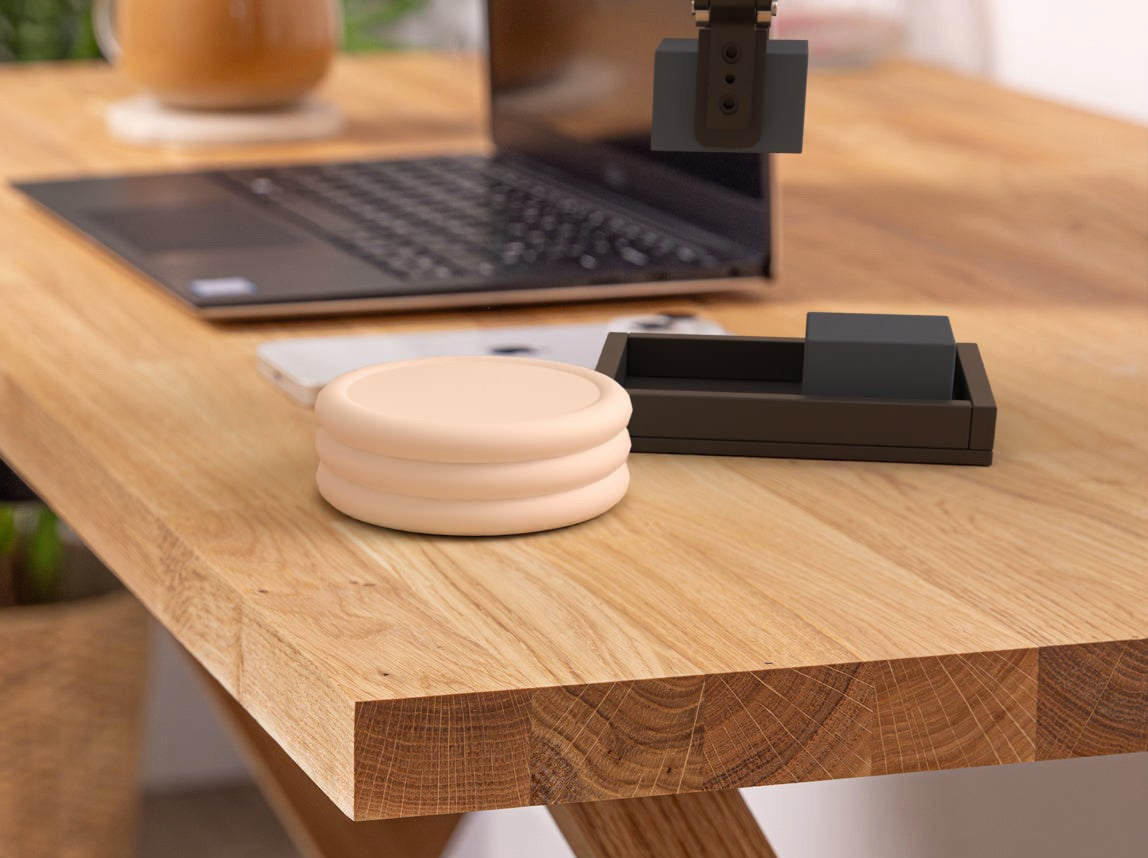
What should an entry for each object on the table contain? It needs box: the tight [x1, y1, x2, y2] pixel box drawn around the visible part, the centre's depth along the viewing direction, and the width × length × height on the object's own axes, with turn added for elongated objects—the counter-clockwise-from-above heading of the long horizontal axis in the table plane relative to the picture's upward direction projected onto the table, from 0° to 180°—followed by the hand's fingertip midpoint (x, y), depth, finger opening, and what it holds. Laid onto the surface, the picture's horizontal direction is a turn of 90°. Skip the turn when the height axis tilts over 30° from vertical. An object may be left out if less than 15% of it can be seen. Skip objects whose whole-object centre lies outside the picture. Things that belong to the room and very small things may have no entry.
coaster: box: [313, 354, 632, 537], centre depth 72 cm, size 10×10×4 cm
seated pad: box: [802, 311, 957, 400], centre depth 79 cm, size 5×5×3 cm
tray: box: [594, 331, 998, 466], centre depth 80 cm, size 14×10×2 cm
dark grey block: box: [650, 37, 810, 155], centre depth 76 cm, size 5×5×3 cm
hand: (729, 132), depth 77 cm, fingers closed on dark grey block, 4 cm apart
